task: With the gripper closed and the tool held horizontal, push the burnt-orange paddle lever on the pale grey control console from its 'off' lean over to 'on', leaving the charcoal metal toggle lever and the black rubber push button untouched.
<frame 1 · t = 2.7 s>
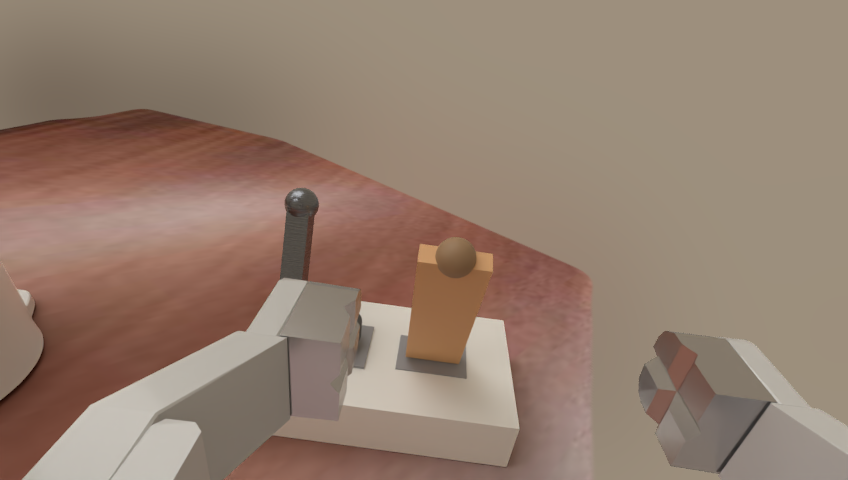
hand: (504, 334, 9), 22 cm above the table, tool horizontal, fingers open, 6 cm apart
push button: (341, 327, 32), point 6 cm above the table, slide at 0.0 cm
console: (376, 386, 35), on the table
paddle lever: (443, 308, 28), point 11 cm above the table, hinge at -22.0°
toggle lever: (296, 258, 32), point 10 cm above the table, hinge at 22.0°
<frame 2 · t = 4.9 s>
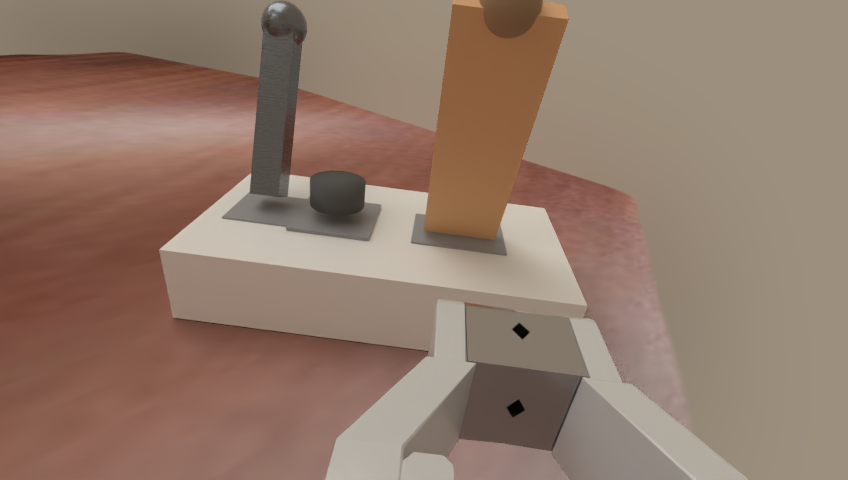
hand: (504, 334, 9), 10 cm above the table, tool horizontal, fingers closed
push button: (337, 192, 24), point 6 cm above the table, slide at 0.0 cm
console: (384, 282, 27), on the table
paddle lever: (481, 131, 20), point 11 cm above the table, hinge at -22.0°
toggle lever: (277, 101, 24), point 10 cm above the table, hinge at 22.0°
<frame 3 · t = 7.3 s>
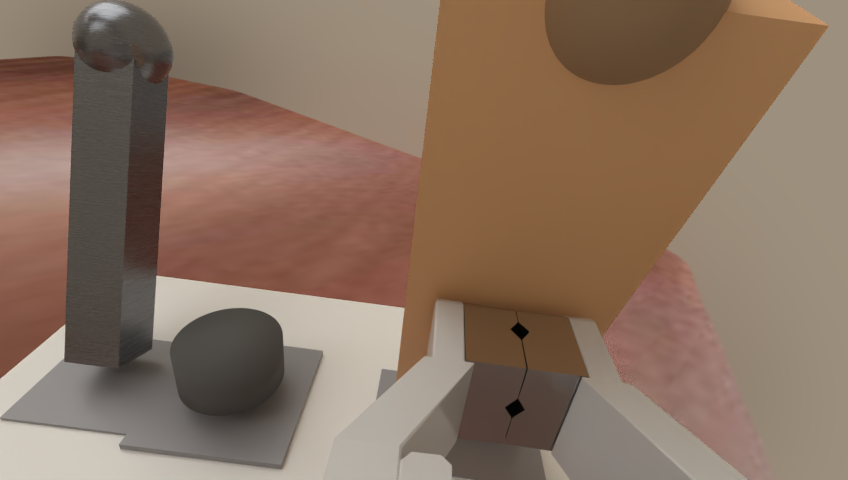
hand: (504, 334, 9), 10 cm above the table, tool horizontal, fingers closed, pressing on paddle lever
push button: (231, 358, 13), point 6 cm above the table, slide at 0.0 cm
paddle lever: (508, 283, 9), point 11 cm above the table, hinge at -16.7°, touching gripper
toggle lever: (118, 187, 13), point 10 cm above the table, hinge at 22.0°
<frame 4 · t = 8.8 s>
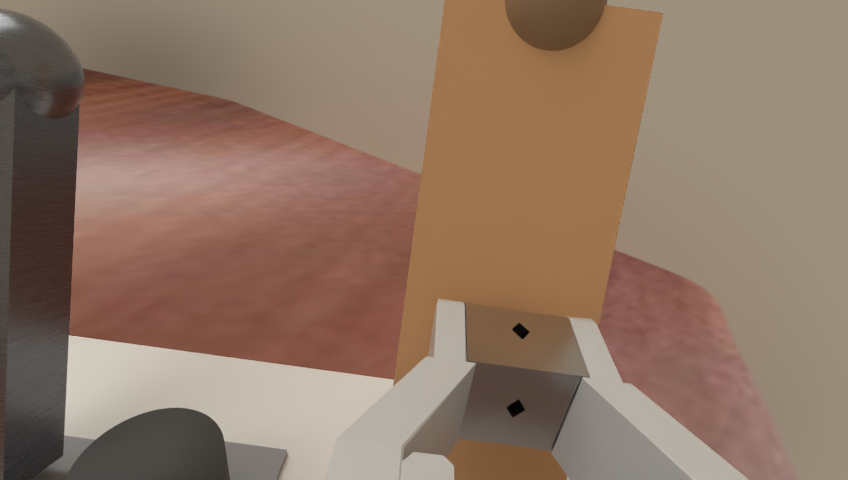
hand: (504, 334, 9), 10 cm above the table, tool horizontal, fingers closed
paddle lever: (501, 277, 9), point 11 cm above the table, hinge at 19.5°
toggle lever: (8, 255, 10), point 10 cm above the table, hinge at 22.0°
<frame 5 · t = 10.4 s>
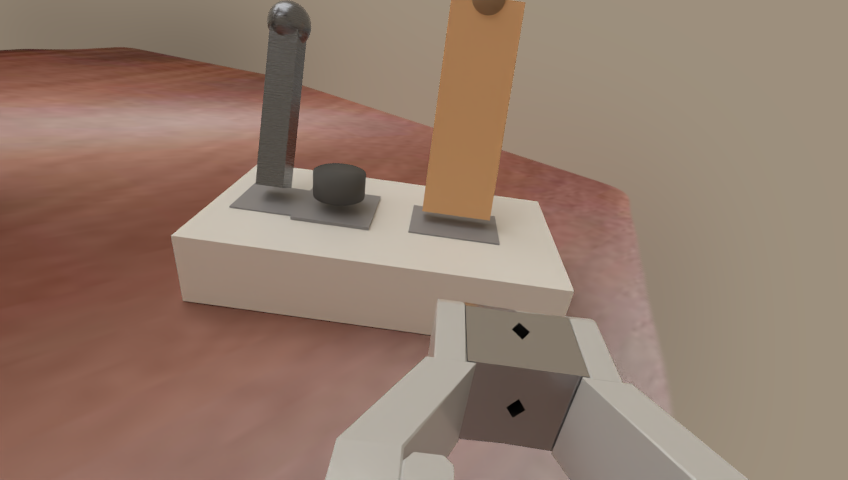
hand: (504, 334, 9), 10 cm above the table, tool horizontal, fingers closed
push button: (339, 183, 25), point 6 cm above the table, slide at 0.0 cm
console: (383, 270, 28), on the table
paddle lever: (472, 102, 25), point 11 cm above the table, hinge at 19.5°
toggle lever: (282, 96, 26), point 10 cm above the table, hinge at 22.0°
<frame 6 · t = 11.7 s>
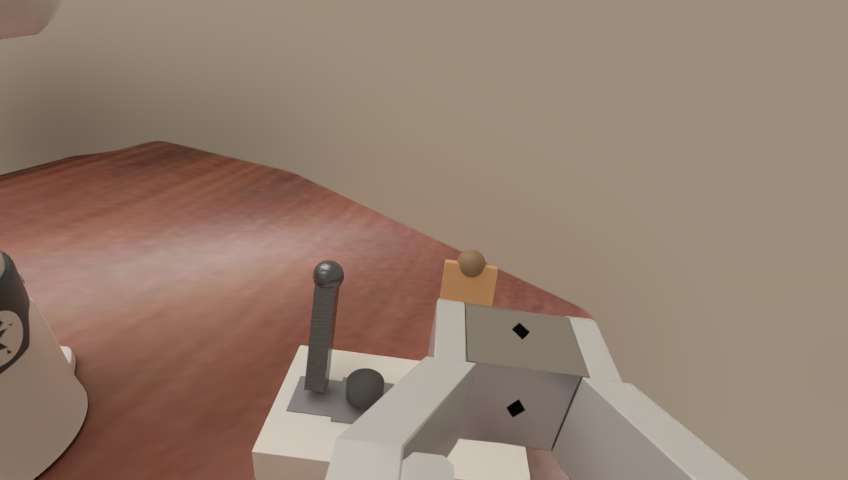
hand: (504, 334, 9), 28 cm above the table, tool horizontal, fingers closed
push button: (364, 388, 35), point 6 cm above the table, slide at 0.0 cm
console: (396, 439, 38), on the table
paddle lever: (461, 330, 35), point 11 cm above the table, hinge at 19.5°
toggle lever: (323, 324, 35), point 10 cm above the table, hinge at 22.0°
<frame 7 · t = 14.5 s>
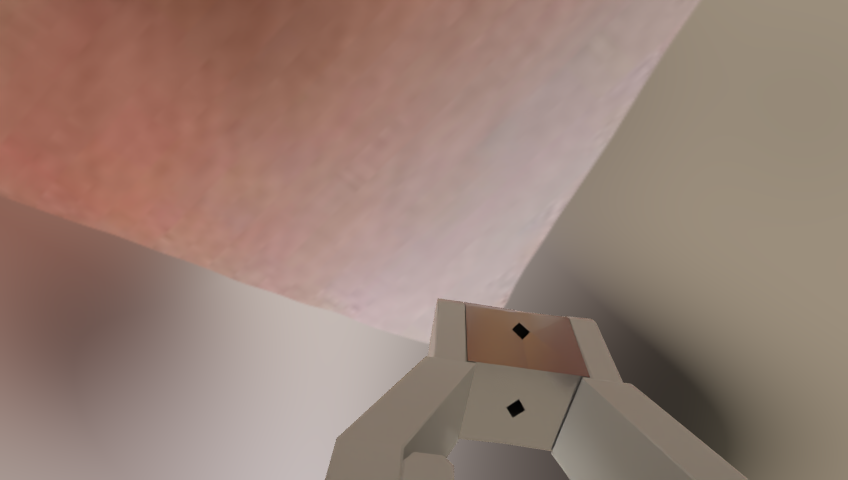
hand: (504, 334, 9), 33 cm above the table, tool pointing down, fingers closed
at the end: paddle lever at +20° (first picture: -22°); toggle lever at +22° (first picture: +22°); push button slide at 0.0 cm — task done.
